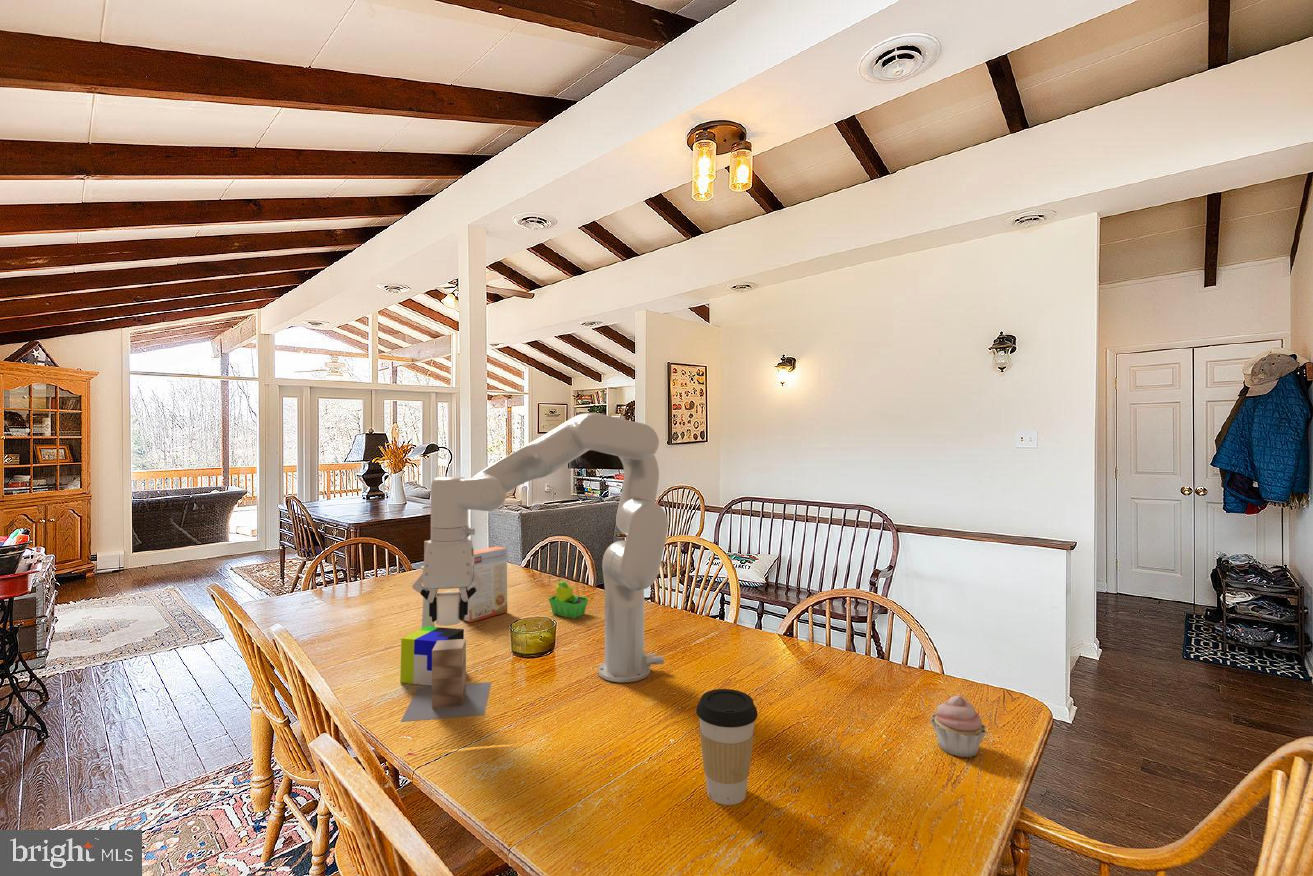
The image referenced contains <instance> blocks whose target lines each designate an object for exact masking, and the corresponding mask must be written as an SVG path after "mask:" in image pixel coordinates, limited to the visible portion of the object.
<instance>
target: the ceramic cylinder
mask: <svg viewBox="0 0 1313 876" xmlns="http://www.w3.org/2000/svg"><path fill="white" fill-rule="evenodd" d="M460 601H461V594H460V590H459V591H458V590H446V591H440V592H437V594H436V621H435V623H436V625H437V626H440V627H447V626H449V627H450V626H455V625H458V624H460V623H461V620H460Z"/></svg>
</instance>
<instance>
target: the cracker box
mask: <svg viewBox="0 0 1313 876" xmlns="http://www.w3.org/2000/svg"><path fill="white" fill-rule="evenodd" d="M473 551H474V567H475V571H476V572H477V574H478V575H479V576H480V577H481V578H482V579H483V581H484V582H485V584H484V586H483V587H481V588H480V589H479V590H478V591H476V592H475V593H474V594H473V595H472V596H471V597H470V598H469V599H468V615H465V617H464V620H463V621H464V622H467V623H473V622H478V621H481V620H484V619H489V618H490V617H494V616H498V615H501V614H506V613H507V612H508V549H507V547H502V546H498V545H496V546H491V547H486V548H485V547H484V548H481V549H480V548H479V549H475V550H474V549H473ZM475 584H476V582H475V581H472V584H471V586H469V587H468V590H469V589H470V588H471V587H473V586H474V585H475ZM461 598H462V597H461Z"/></svg>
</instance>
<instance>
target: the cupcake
mask: <svg viewBox="0 0 1313 876" xmlns="http://www.w3.org/2000/svg"><path fill="white" fill-rule="evenodd" d="M929 720H930V723H931V725H932V727H933V728H934V731H935V735H936V738H937V742H938V746H939V747H940V749H941V750H942V751H944V752H946V753H947V754H949V755H952V756H954V755H955V757H957V756H958V757H957V758H964V757H967V758H968V757H969V758H973V757H972V756H974V757H975V756H976V755H977V754H978V752H979V748H980V745H981V743H982V740H983V738H984V737H985V736H986V734H987V733H988V732H987V731H986V729H987V726H986V725H985V724H983V721H982V717H980V715H979V713H977V711H976V708H975V707H974V705H972V704H971V702H970V701H968V700H967V699H965V698H964V697H963V696H961V695H954V696H951V697H950V698H948V700H947V701H946V702H943V703H941V704H939V705H938V706H937V708H936V713H935V714H931V718H930V719H929ZM967 758H966V759H967Z"/></svg>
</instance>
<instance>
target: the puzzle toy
mask: <svg viewBox="0 0 1313 876" xmlns="http://www.w3.org/2000/svg"><path fill="white" fill-rule="evenodd" d="M464 633H465V629H464V628H453V627H442V626H440V627H439V626H435V627H429V626H427V627H425V628H422V627H421V629H419V630H416V631H414V632H412V633H410V634H408V635H406V636H404V637H402V638H401V643H400V644H401V645H400V649H401V650H400V674H399V675H400V676H399V677H400V678H399V679H400V680H399V681H400V682H399V683H401V684H409V685H410V684H411V685H420V686H421V685H423V686H432V650H433V648H434V646H435V644H436V642H437V641H439V640H456V639H465V637H464V636H465V635H464Z"/></svg>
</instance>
